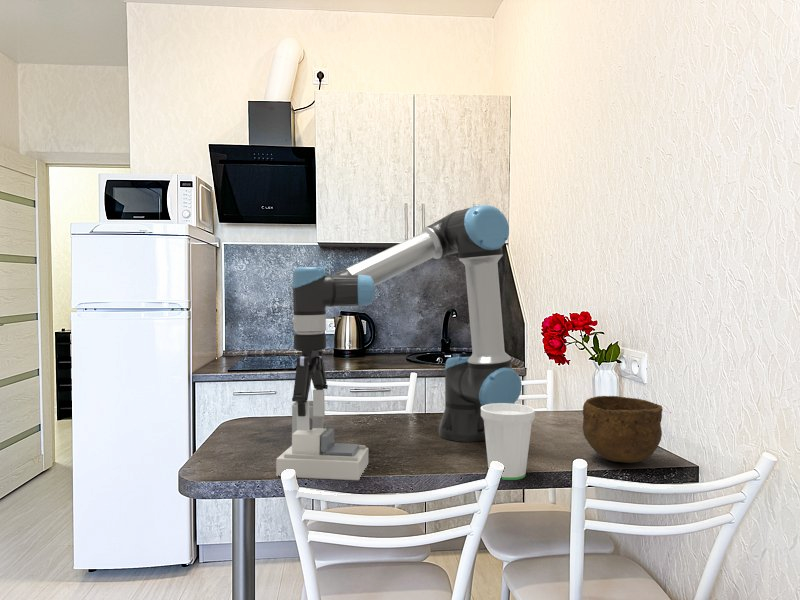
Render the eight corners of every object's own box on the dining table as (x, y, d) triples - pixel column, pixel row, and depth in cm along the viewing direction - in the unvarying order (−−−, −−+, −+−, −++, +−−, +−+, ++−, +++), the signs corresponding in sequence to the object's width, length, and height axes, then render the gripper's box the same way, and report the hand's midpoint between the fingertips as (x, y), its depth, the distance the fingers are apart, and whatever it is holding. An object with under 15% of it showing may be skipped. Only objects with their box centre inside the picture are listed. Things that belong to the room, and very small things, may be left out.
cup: (516, 487, 125) (517, 416, 125) (469, 474, 134) (469, 408, 133) (544, 473, 135) (545, 408, 134) (498, 462, 143) (498, 400, 143)
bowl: (673, 476, 134) (674, 411, 133) (588, 471, 137) (589, 408, 136) (651, 453, 152) (652, 396, 152) (577, 449, 155) (578, 393, 155)
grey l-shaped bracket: (358, 449, 139) (358, 429, 139) (352, 458, 132) (352, 437, 132) (329, 447, 140) (329, 428, 140) (321, 457, 132) (321, 436, 132)
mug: (320, 447, 155) (320, 406, 155) (288, 447, 156) (288, 406, 155) (327, 436, 167) (327, 398, 167) (298, 435, 168) (298, 397, 167)
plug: (326, 465, 140) (326, 415, 139) (319, 474, 133) (319, 421, 133) (300, 464, 140) (300, 414, 140) (291, 473, 134) (292, 420, 134)
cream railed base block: (368, 464, 141) (368, 444, 141) (358, 480, 129) (358, 458, 129) (292, 460, 144) (292, 441, 143) (276, 476, 132) (276, 455, 131)
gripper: (309, 328, 149) (310, 410, 150) (276, 337, 124) (278, 436, 125) (337, 328, 148) (339, 411, 149) (310, 337, 123) (312, 437, 124)
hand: (311, 422), depth 137 cm, fingers open, 13 cm apart
